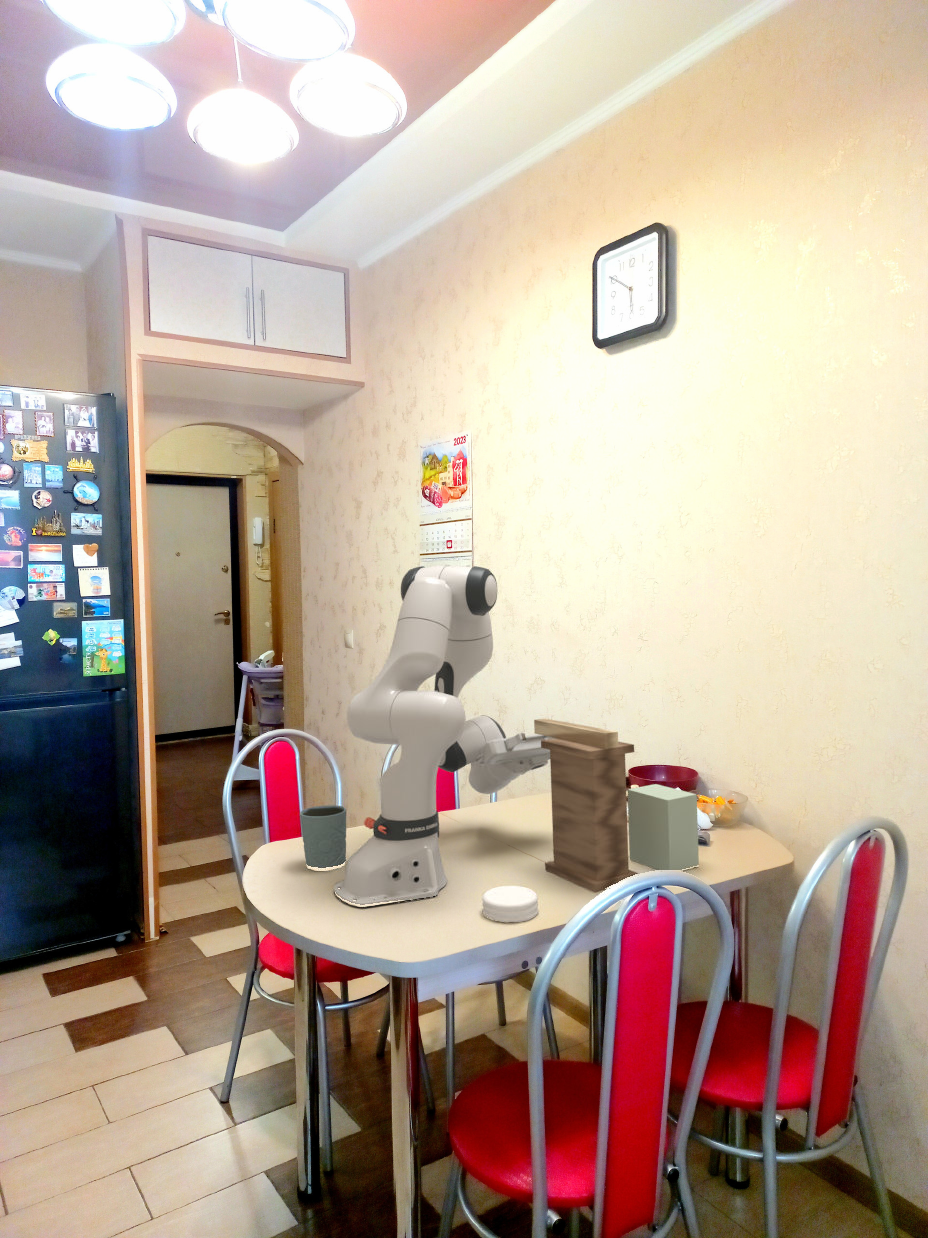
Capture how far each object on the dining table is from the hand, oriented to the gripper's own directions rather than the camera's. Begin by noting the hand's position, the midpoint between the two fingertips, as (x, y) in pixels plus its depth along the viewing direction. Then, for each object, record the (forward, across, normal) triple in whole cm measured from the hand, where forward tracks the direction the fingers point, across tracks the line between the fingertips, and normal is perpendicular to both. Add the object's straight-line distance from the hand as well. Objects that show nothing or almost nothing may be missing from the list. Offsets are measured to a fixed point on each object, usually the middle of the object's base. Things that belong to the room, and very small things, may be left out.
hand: (540, 734), depth 180 cm
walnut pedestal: (0, 0, +31) cm, 31 cm away
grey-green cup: (-34, -42, +12) cm, 55 cm away
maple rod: (+10, 0, +6) cm, 12 cm away
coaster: (+6, -24, +35) cm, 43 cm away
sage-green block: (+3, +17, +32) cm, 37 cm away
